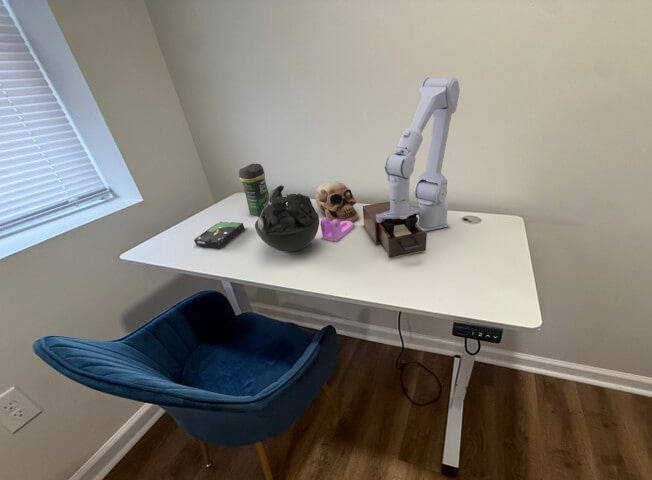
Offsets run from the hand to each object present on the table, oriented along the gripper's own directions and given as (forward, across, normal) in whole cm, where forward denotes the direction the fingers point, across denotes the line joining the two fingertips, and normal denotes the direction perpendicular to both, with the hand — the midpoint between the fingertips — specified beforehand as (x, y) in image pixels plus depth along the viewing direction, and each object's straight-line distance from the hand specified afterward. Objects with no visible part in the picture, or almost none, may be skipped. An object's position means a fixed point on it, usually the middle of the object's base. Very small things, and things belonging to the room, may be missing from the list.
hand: (399, 238), depth 102 cm
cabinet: (+3, 0, +12) cm, 12 cm away
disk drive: (+3, -57, +31) cm, 65 cm away
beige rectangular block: (+1, 0, 0) cm, 1 cm away
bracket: (+3, -16, +18) cm, 24 cm away
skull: (+3, -13, +33) cm, 36 cm away
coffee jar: (+3, -42, +49) cm, 65 cm away
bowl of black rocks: (+3, -33, +13) cm, 36 cm away
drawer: (+2, 0, -3) cm, 3 cm away
